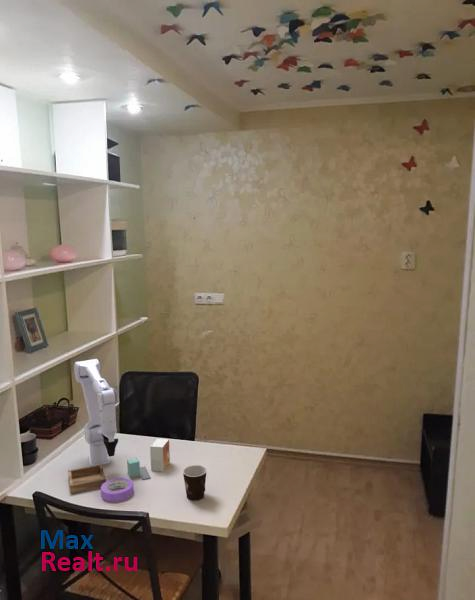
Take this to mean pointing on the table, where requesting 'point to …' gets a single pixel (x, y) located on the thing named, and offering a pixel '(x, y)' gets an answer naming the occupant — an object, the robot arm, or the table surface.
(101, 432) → the robot arm
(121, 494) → the masking tape
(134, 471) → the block
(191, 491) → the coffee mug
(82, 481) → the wooden tray
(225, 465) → the table surface
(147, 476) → the mat
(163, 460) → the small box
